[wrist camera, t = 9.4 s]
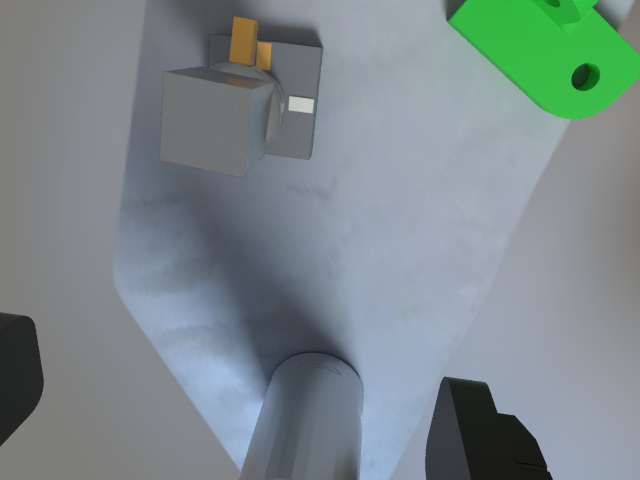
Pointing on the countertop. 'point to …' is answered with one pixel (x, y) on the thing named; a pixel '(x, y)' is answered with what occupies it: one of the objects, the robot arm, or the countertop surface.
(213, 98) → the collar
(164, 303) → the countertop surface
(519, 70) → the mechanical part
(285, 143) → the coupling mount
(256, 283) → the countertop surface
